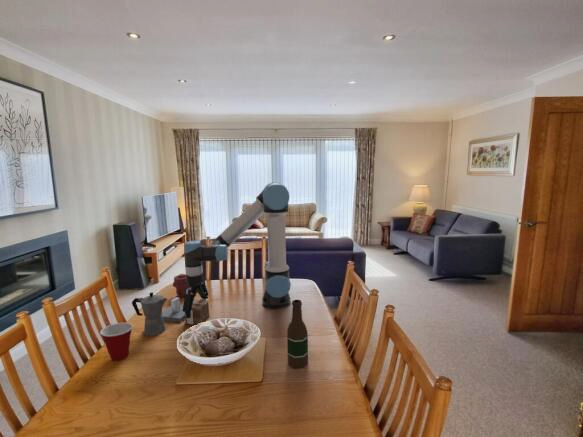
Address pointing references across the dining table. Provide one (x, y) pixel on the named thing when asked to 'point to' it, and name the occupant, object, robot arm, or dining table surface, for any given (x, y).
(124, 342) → the plastic cup
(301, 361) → the beer bottle
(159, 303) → the coffeepot
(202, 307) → the cardboard box
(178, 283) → the mechanical component
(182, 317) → the shaft stand
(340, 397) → the dining table surface
